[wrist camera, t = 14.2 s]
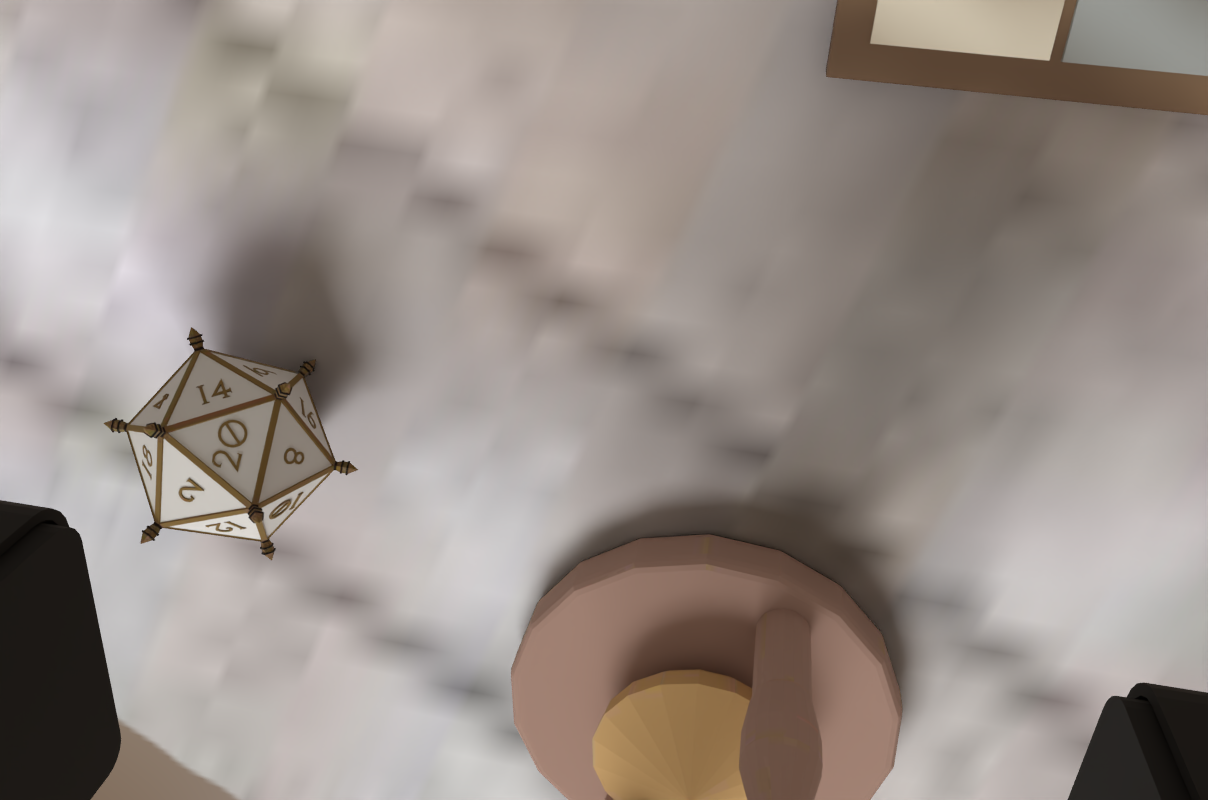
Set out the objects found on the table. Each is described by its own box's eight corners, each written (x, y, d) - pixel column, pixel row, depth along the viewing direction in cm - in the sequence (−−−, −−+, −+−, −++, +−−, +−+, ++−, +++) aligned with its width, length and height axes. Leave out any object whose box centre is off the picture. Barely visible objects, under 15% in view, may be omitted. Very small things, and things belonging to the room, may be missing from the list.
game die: (280, 334, 48) (121, 271, 39) (424, 413, 45) (289, 365, 36) (190, 507, 48) (7, 486, 38) (328, 598, 45) (167, 599, 35)
